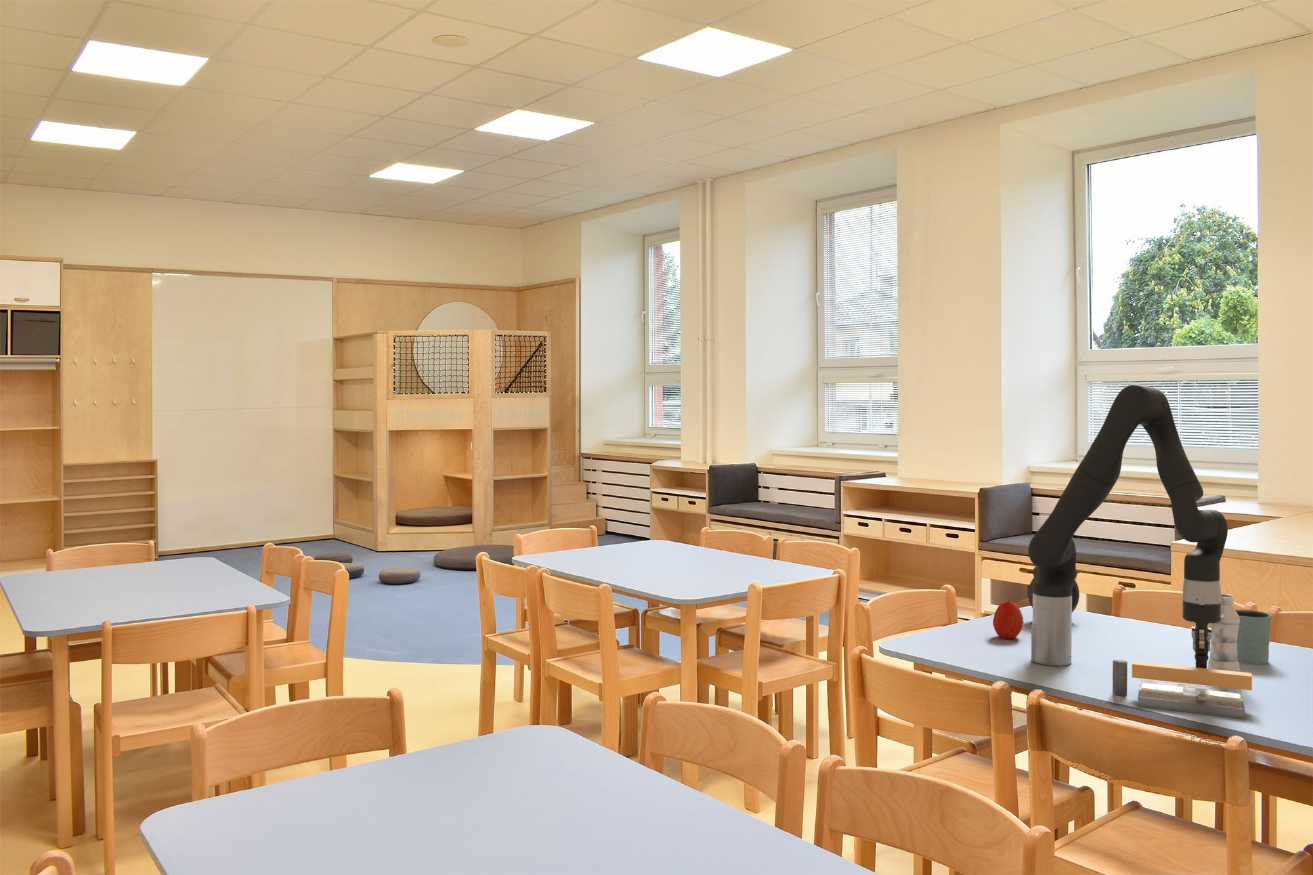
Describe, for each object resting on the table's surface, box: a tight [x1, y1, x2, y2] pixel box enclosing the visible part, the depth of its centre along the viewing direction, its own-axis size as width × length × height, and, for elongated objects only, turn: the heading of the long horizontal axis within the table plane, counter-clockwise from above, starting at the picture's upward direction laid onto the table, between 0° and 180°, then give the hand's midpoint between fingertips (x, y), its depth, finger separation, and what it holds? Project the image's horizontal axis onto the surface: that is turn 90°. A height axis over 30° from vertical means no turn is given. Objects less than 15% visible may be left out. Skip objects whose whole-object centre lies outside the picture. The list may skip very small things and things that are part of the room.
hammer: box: [1112, 659, 1253, 696], centre depth 222 cm, size 27×3×7 cm, turn 62°
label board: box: [1137, 678, 1246, 720], centre depth 221 cm, size 20×16×2 cm
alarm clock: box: [1027, 565, 1080, 613], centre depth 305 cm, size 14×7×20 cm, turn 105°
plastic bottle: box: [1207, 593, 1241, 672], centre depth 239 cm, size 6×7×20 cm
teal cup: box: [1235, 609, 1272, 665], centre depth 258 cm, size 10×10×12 cm
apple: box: [992, 599, 1024, 640], centre depth 284 cm, size 8×8×11 cm
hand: (1201, 676), depth 226 cm, fingers closed
